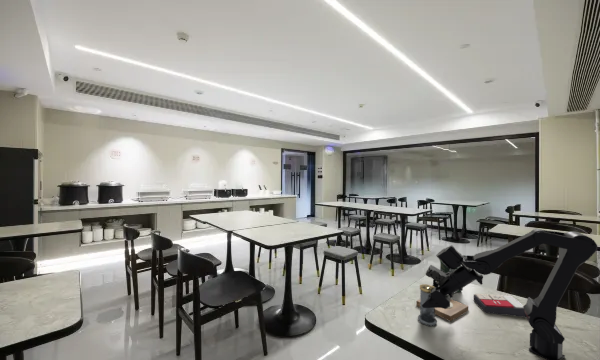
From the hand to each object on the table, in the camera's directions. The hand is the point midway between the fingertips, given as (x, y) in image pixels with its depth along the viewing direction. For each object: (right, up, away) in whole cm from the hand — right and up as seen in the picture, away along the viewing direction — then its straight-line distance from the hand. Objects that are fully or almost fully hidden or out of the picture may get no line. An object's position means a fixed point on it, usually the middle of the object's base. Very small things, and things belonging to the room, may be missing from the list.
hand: (423, 301), depth 97 cm
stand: (+12, -7, +9) cm, 17 cm away
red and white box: (+36, -8, +9) cm, 38 cm away
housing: (+1, -7, 0) cm, 7 cm away
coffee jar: (+26, -7, +27) cm, 38 cm away
